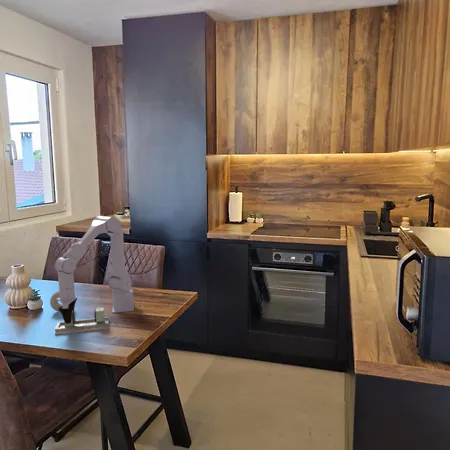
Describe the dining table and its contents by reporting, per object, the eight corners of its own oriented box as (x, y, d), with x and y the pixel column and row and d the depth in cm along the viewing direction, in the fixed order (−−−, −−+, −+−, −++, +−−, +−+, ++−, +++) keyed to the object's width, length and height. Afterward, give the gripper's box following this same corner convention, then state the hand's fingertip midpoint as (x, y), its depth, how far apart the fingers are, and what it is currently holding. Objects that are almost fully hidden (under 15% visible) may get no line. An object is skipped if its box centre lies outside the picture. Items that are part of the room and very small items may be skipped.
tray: (109, 320, 170) (107, 304, 169) (108, 329, 161) (106, 312, 160) (58, 325, 165) (57, 309, 164) (55, 334, 157) (53, 317, 156)
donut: (51, 314, 178) (49, 293, 176) (50, 312, 181) (48, 291, 179) (74, 310, 183) (73, 289, 181) (73, 308, 186) (71, 287, 184)
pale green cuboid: (65, 328, 160) (63, 314, 159) (66, 325, 164) (65, 311, 163) (74, 327, 161) (73, 313, 160) (75, 324, 164) (74, 310, 164)
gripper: (59, 282, 166) (61, 314, 168) (52, 293, 152) (55, 327, 154) (77, 281, 167) (79, 312, 169) (72, 292, 153) (75, 325, 155)
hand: (69, 319), depth 162 cm, fingers open, 7 cm apart
